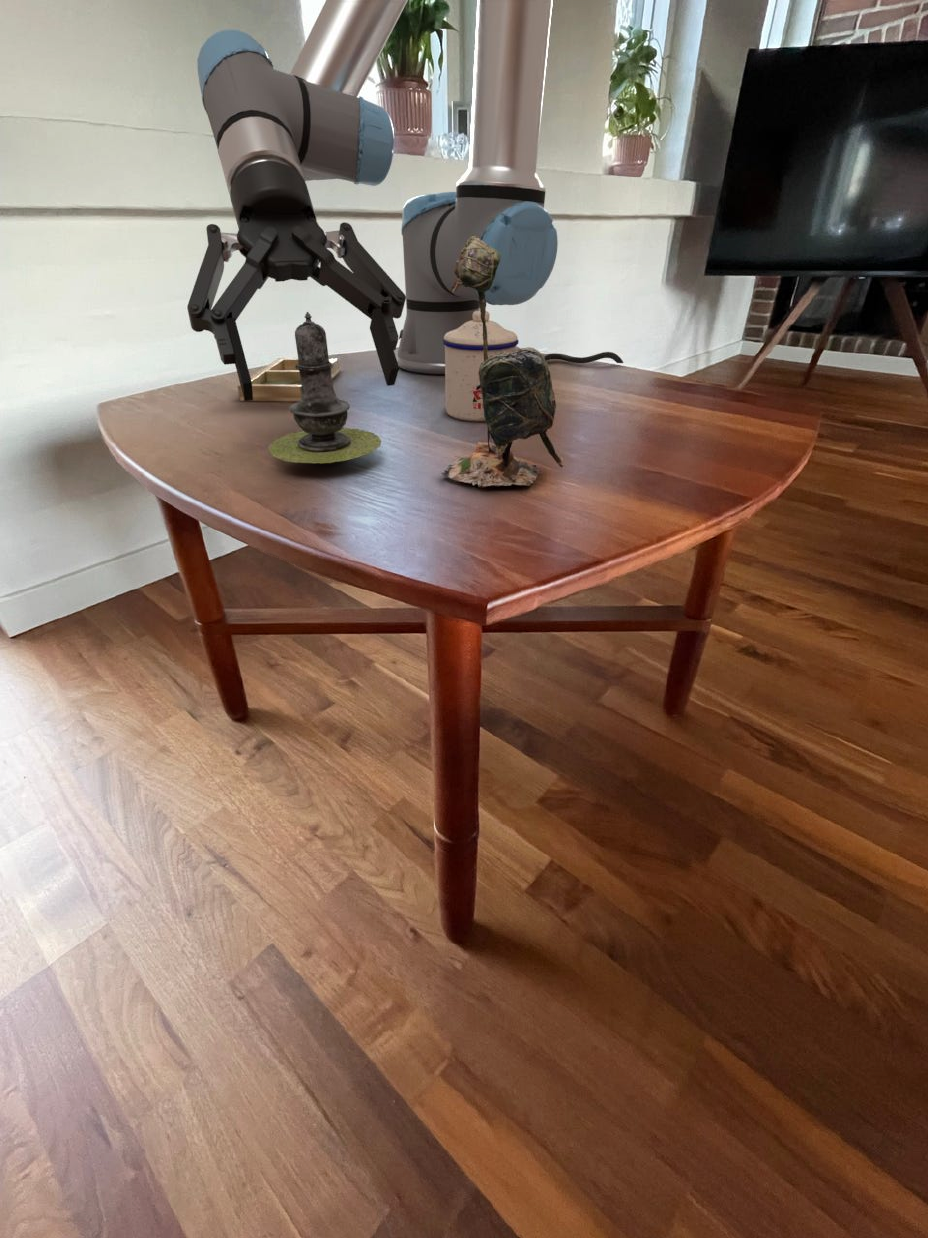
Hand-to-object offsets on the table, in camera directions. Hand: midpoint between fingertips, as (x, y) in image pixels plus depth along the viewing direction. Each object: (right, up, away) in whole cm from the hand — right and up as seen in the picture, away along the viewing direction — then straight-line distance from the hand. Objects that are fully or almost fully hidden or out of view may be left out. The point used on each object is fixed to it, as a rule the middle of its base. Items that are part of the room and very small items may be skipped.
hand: (323, 384), depth 57 cm
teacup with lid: (+16, +5, +22) cm, 28 cm away
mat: (-1, -6, +6) cm, 9 cm away
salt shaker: (-1, -4, +5) cm, 7 cm away
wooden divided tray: (-12, +13, +33) cm, 38 cm away
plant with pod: (+17, -8, +2) cm, 19 cm away
